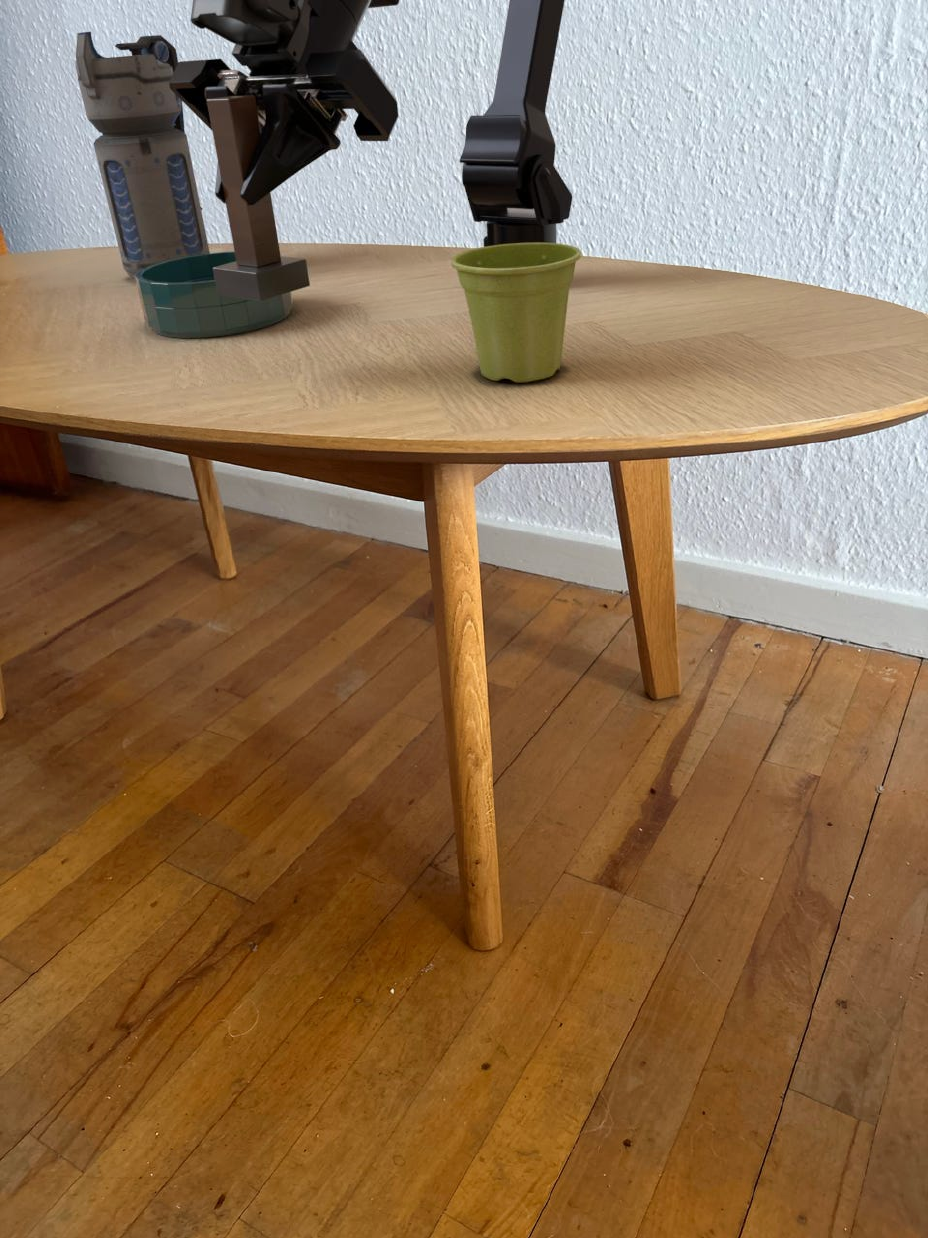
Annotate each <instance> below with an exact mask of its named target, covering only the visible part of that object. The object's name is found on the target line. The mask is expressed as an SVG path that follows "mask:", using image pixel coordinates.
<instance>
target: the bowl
mask: <svg viewBox="0 0 928 1238" xmlns="http://www.w3.org/2000/svg"><path fill="white" fill-rule="evenodd" d="M280 255H281V256H283V257H286V256H285V255H283V254H281V253H280ZM235 261H236V257H235V251H234V250H225V251H216V252H215V251H213V252H210V253H204V254H197V255H191V256H185V257H180V258H175V259H171V260H166V261H163V262H159V263H156V264H153V265H150V266H147V267H145V268H143V269H141V270H139V271H138V272H137V274H136V275H135V278H134V281H135V284H136V288H137V292H138V296H139V300H140V305H141V309H142V313H143V318H144V321H145V324H146V325H147V327H149V328H151V330H152V331H153V332H154V333H155V334H157V335H160V336H163V337H167V338H168V337H169V338H178V339H203V338H204V339H205V338H215V337H224V336H231V335H237V334H238V335H239V334H243V333H247V332H253V331H256V330H260V329H262V328H266V327H269V326H271V325H274V324H277V323H278V322H281V321H282V320H285V319H286V318H287V317H288V316H289V315H290V313H291V309H293V304H294V301H293V295H292V292H289V293H286V294H282V295H279V296H276V297H273V298H270V299H266V300H263V301H257V300H250V299H244V298H237V297H230V296H224V295H218V294H217V289H216V284H215V278H214V273H213V267H217V266H220V265H224V264H228V263H232V262H235Z"/></svg>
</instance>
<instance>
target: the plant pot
mask: <svg viewBox="0 0 928 1238" xmlns="http://www.w3.org/2000/svg"><path fill="white" fill-rule="evenodd" d="M581 256H582V250H581V249H580V248H578V247H577V246H573V245H570V244H563V243H515V244H502V245H494V246H487V247H484V246H481V247H476V248H471V249H468V250H465V251H462V252H460V253H457V254H455V255H454V256H452V258H451V259H450V264H451V266H452V268H453V269H455V270H456V271H457V276H458V280H459V284H460V286H461V288H462V289H463V290H464V294H465V300H466V304H467V308H468V314H469V319H470V323H471V327H472V332H473V337H474V343H475V348H476V355H477V359H478V363H479V369H480V373H481V375H482V376H483V377H485V379H488V380H490V381H494V382H499V381H501V380H504V379H508V380H511V381H512V382H515V383H522V384H523V383H529V382H530V383H531V382H535V381H539V380H546V379H548V378H550V377H552V376H554V374H555V373H556V371H557V370H558V371H559V370H560V369H561V366H562V365H561V364H562V355H563V347H564V346H563V345H564V339H565V338H564V337H565V329H566V319H567V312H568V303H569V293H570V285H571V282H572V281H573V279H574V276H575V269H576V264H577V263H576V262H578V261H579V260H580V259H581Z"/></svg>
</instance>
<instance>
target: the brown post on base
mask: <svg viewBox="0 0 928 1238" xmlns="http://www.w3.org/2000/svg"><path fill="white" fill-rule="evenodd" d="M207 104H208V110H209V115H210V121H211V126H212V130H211V132H212V136H213V142H214V147H215V153H216V158H217V165H218V164H219V170H220V175H221V181H222V186H223V191H224V197H225V202H226V204H225V207H226V212H227V213H226V214H227V217H228V224H229V229H230V235H231V239H232V245H233V251H235V257H236V261H235V262H232V263H228V264H224V265H220V266H217V267H213V273H214V278H215V284H216V289H217V294H218V295H224V296H230V297H237V298H244V299H250V300H257V301H263V300H266V299H270V298H273V297H276V296H279V295H282V294H286V293H289V292H291V293H292V292H295V291H298V290H302V289H305V288H308V287H310V286H311V284H310V283H311V282H310V278H309V270H308V262H307V259H306V258H302V257H290V256H285V257H283V256H284V255H283V256H281V255H282V254H281V249H280V243H279V238H278V237H279V236H278V231H277V224H276V219H275V212H274V206H273V200H272V192H270V193H269V194H267V195H266V196H265V197H264V198H262V199H261V200H260V201H258V202H257V203H256V204H254V205H248V204H247V203H246V202H245V201H244V200H243V199H242V198H241V197H240V193H241V189H242V186H243V182H244V179H245V175H246V173H247V170H248V167H249V165H250V162H251V159H252V157H253V154H254V151H255V148H256V146H257V143H258V140H259V138H260V135H261V130H260V124H259V118H258V111H257V105H256V99H255V96H254V95H249V96H229V97H221V98H213V99H207ZM280 254H281V255H280Z"/></svg>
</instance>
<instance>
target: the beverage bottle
mask: <svg viewBox="0 0 928 1238" xmlns="http://www.w3.org/2000/svg"><path fill="white" fill-rule="evenodd" d="M76 35H77V37H76V45H75V47H76V48H75V72H76V74H77V82H78V86H79V90H80V94H81V98H82V103H83V106H84V107H83V108H84V111H85V114H86V119H87V120H88V121H89V122H90V123H91V125H92V126H93V127H94V128H95V129H96V131H98V133H101V134H102V135H100V136H98V137H97V138H96V139H95V140H94V141H93V148H94V152H95V156H96V161H97V165H98V168H99V173H100V177H101V181H102V186H103V189H104V193H105V198H106V201H107V206H108V211H109V214H110V218H111V222H112V225H113V226H112V227H113V231H114V235H115V239H116V242H117V247H118V251H119V254H120V260H121V262H122V266H123V269H124V271H125V272H126V274H127V275H128V276H129V277H130V278H132V279H135V275H136V274H137V272H138V271H139V270H141V269H143V268H145V267H147V266H150V265H153V264H156V263H159V262H163V261H166V260H171V259H175V258H180V257H185V256H191V255H197V254H204V253H211V252H210V248H209V247H210V246H209V243H208V237H207V233H206V228H205V227H206V226H205V222H204V217H203V212H202V211H203V210H204V209H203V207H202V206H201V202H200V197H199V191H198V186H197V181H196V177H195V172H194V166H193V162H192V156H191V151H190V146H189V142H188V136H187V134H186V133H185V120H184V106H183V101H182V100H181V99H180V98H179V97H178V96H177V95H176V94H175V93H174V92H173V91H172V90H171V89H170V86H169V82H170V80H171V78H172V75H173V73H174V71H175V69H176V67H177V65H178V63H179V59H178V52H177V48H175V47H174V45H172V44H171V43H170V42H169V41H168V40H167V38H165V37H164V36H162V35H160V34H158V35H157V34H156V35H146V36H145V35H143V36H141V35H140V37H139V38H138V39H137V41H136V42H121V43H116V44H115V46H114V47H115V48H116V49H118V50H119V51H129V52H130V53H131V55H124V56H112V57H105V56H102V55H101V54H100V53H98V51H97V49H96V48H95V46H94V42H93V38H92V31H84V32H83V31H82V32H77V34H76Z"/></svg>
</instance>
